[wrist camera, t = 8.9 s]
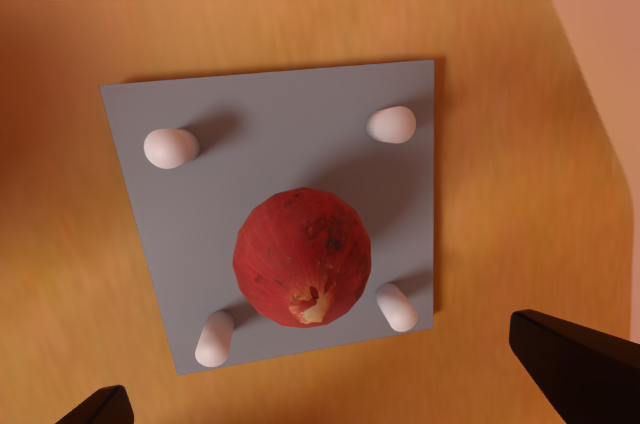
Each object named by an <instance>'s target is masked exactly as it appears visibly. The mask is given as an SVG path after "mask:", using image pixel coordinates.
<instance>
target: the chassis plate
mask: <svg viewBox="0 0 640 424" xmlns="http://www.w3.org/2000/svg"><path fill="white" fill-rule="evenodd" d="M99 89H100V93H101V96H102V100H103V104H104V107H105V111H106V115H107V118H108V122H109V126H110V129H111V133H112V137H113V140H114V144H115V148H116V151H117V155H118V159H119V162H120V166H121V170H122V173H123V177H124V181H125V184H126V188H127V192H128V195H129V199H130V203H131V207H132V210H133V214H134V218H135V221H136V225H137V229H138V232H139V236H140V240H141V243H142V247H143V251H144V254H145V258H146V262H147V265H148V269H149V273H150V276H151V280H152V284H153V287H154V291H155V295H156V298H157V302H158V306H159V309H160V313H161V317H162V320H163V324H164V328H165V331H166V335H167V339H168V342H169V346H170V350H171V353H172V357H173V361H174V364H175V368H176V372H177V375H178V376H179V375H185V374H190V373H195V372H201V371H206V370H211V369H217V368H222V367H228V366H233V365H238V364H244V363H249V362H254V361H260V360H265V359H270V358H276V357H281V356H286V355H292V354H297V353H303V352H308V351H313V350H319V349H324V348H329V347H335V346H340V345H345V344H351V343H356V342H361V341H367V340H372V339H377V338H383V337H388V336H394V335H399V334H404V333H410V332H415V331H420V330H426V329H431V328H433V246H434V59H431V60H419V61H406V62H393V63H380V64H367V65H354V66H341V67H329V68H316V69H303V70H290V71H277V72H264V73H251V74H239V75H226V76H213V77H200V78H187V79H174V80H161V81H149V82H136V83H123V84H110V85H99ZM301 187H306V188H311V189H316V190H321V191H327V192H331V193H333V194H335V195H336V196H337V197H339V198H340V199H341V200H343V201H344V202H345V203H347V204H348V205H349V206H351V207H352V208H353V209H355V210H356V212H357V214H358V216H359V218H360V220H361V222H362V224H363V226H364V228H365V230H366V232H367V234H368V236H369V238H370V240H371V262H372V266H371V273H370V276H369V278H368V281H367V284H366V287H365V290H364V292H363V294H362V296H361V297H360V299H359V300H358V301H357V302H356V303H355V304H354V306H353V307H352V308H351V309H350V310H349V312H348V313H346V314H345V315H343V316H341V317H339V318H338V319H336V320H334V321H333V322H331V323H329V324H328V325H323V326H317V327H311V328H297V327H287V326H282V325H280V324H278V323H276V322H274V321H272V320H271V319H269V318H267V317H265V316H263V315H261V314H259V313H258V311H257V310H256V309H255V308H254V307H253V306H252V304H251V303H250V302H249V301H248V300H247V299H246V297H245V296H244V295H243V294H242V292H241V291H240V289H239V286H238V283H237V279H236V276H235V272H234V269H233V266H232V262H233V254H234V250H235V245H236V240H237V236H238V231H239V230H240V228H241V227H242V225H243V224H244V222H245V221H246V219H247V217H248V216H249V214H250V213H251V211H252V210H253V209H254V208H255V207H257V206H258V205H260V204H261V203H262V202H264V201H265V200H267V199H268V198H270V197H271V196H273V195H274V194H276V193H280V192H284V191H288V190H292V189H297V188H301Z"/></svg>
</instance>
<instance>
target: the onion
mask: <svg viewBox="0 0 640 424" xmlns="http://www.w3.org/2000/svg"><path fill="white" fill-rule="evenodd" d="M232 266H233V269H234V272H235V276H236V279H237V283H238V286H239V289H240V291H241V292H242V294H243V295H244V296H245V297H246V299H247V300H248V301H249V302H250V303H251V304H252V306H253V307H254V308H255V309H256V310H257V311H258V313H259V314H261V315H263V316H265V317H267V318H269V319H271V320H272V321H274V322H276V323H278V324H280V325H282V326H287V327H297V328H311V327H317V326H323V325H328V324H329V323H331V322H333V321H334V320H336V319H338V318H339V317H341V316H343V315H345V314H346V313H348V312H349V310H350V309H351V308H352V307H353V306H354V304H355V303H356V302H357V301H358V300H359V299H360V297H361V296H362V294H363V292H364V290H365V287H366V284H367V281H368V278H369V276H370V273H371V266H372V262H371V240H370V238H369V236H368V234H367V232H366V230H365V228H364V226H363V224H362V222H361V220H360V218H359V216H358V214H357V212H356V210H355V209H353V208H352V207H351V206H349V205H348V204H347V203H345V202H344V201H343V200H341V199H340V198H339V197H337V196H336V195H335V194H333V193H331V192H327V191H321V190H316V189H311V188H306V187H301V188H297V189H292V190H288V191H284V192H280V193H276V194H274V195H273V196H271V197H270V198H268V199H267V200H265V201H264V202H262V203H261V204H260V205H258V206H257V207H255V208H254V209H253V210H252V211H251V213H250V214H249V216H248V217H247V219H246V221H245V222H244V224H243V225H242V227H241V228H240V230H239V231H238V236H237V240H236V245H235V250H234V254H233V262H232Z"/></svg>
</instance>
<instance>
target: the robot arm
mask: <svg viewBox="0 0 640 424" xmlns="http://www.w3.org/2000/svg"><path fill="white" fill-rule="evenodd" d="M509 344H510V347H511V349H512V351H513V352H514V354H515V355H516V356H517V358H518V359H519V361H520V362H521V363H522V365H523V366H524V367H525V369H526V370H527V372H528V373H529V374H530V376H531V377H532V379H533V380H534V381H535V383H536V384H537V385H538V387H539V388H540V390H541V391H542V392H543V394H544V395H545V396H546V398H547V399H548V401H549V402H550V403H551V405H552V406H553V407H554V409H555V410H556V411H557V413H558V414H559V415H560V416H561V417H562V419H563V420H564V421H565V422H566V424H640V344H637V343H634V342H631V341H628V340H625V339H622V338H618V337H615V336H612V335H609V334H606V333H603V332H600V331H597V330H594V329H591V328H587V327H584V326H581V325H578V324H575V323H572V322H569V321H566V320H563V319H559V318H556V317H553V316H550V315H547V314H544V313H541V312H538V311H535V310H531V309H526V310H520V311H515V312H513V313H512V315H511V319H510V330H509ZM55 424H134V413H133V410H132V407H131V404H130V401H129V398H128V395H127V392H126V390H125V388H124V387H123V386H122V385H114V386H109V387H104V388H101V389H99V390H97V391H96V392H95V393H93V394H92V395H91V396H90V397H88V398H87V399H86V400H84V401H83V402H82V403H81V404H79V405H78V406H77V407H76V408H74V409H73V410H72V411H70V412H69V413H68V414H67V415H65V416H64V417H63V418H62V419H60V420H59V421H58V422H56V423H55Z"/></svg>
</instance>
